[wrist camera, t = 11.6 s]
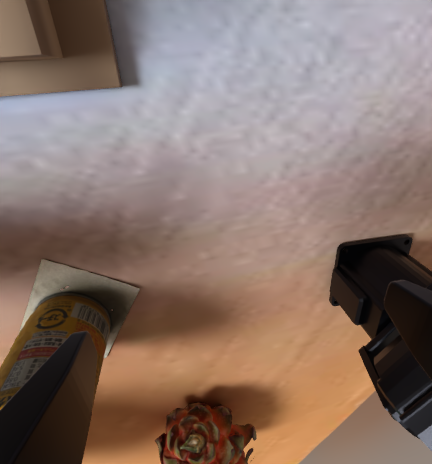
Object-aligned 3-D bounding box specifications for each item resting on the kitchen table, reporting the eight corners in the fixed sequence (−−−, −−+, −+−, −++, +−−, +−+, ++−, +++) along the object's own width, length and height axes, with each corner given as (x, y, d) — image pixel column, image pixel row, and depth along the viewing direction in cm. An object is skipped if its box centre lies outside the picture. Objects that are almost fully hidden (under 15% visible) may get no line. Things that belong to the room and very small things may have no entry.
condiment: (17, 338, 24) (-97, 539, 14) (42, 257, 21) (-80, 437, 11) (106, 355, 26) (67, 538, 16) (140, 286, 23) (119, 455, 13)
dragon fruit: (169, 369, 31) (229, 399, 38) (119, 454, 28) (194, 469, 35) (224, 416, 25) (284, 441, 32) (167, 531, 22) (246, 531, 29)
